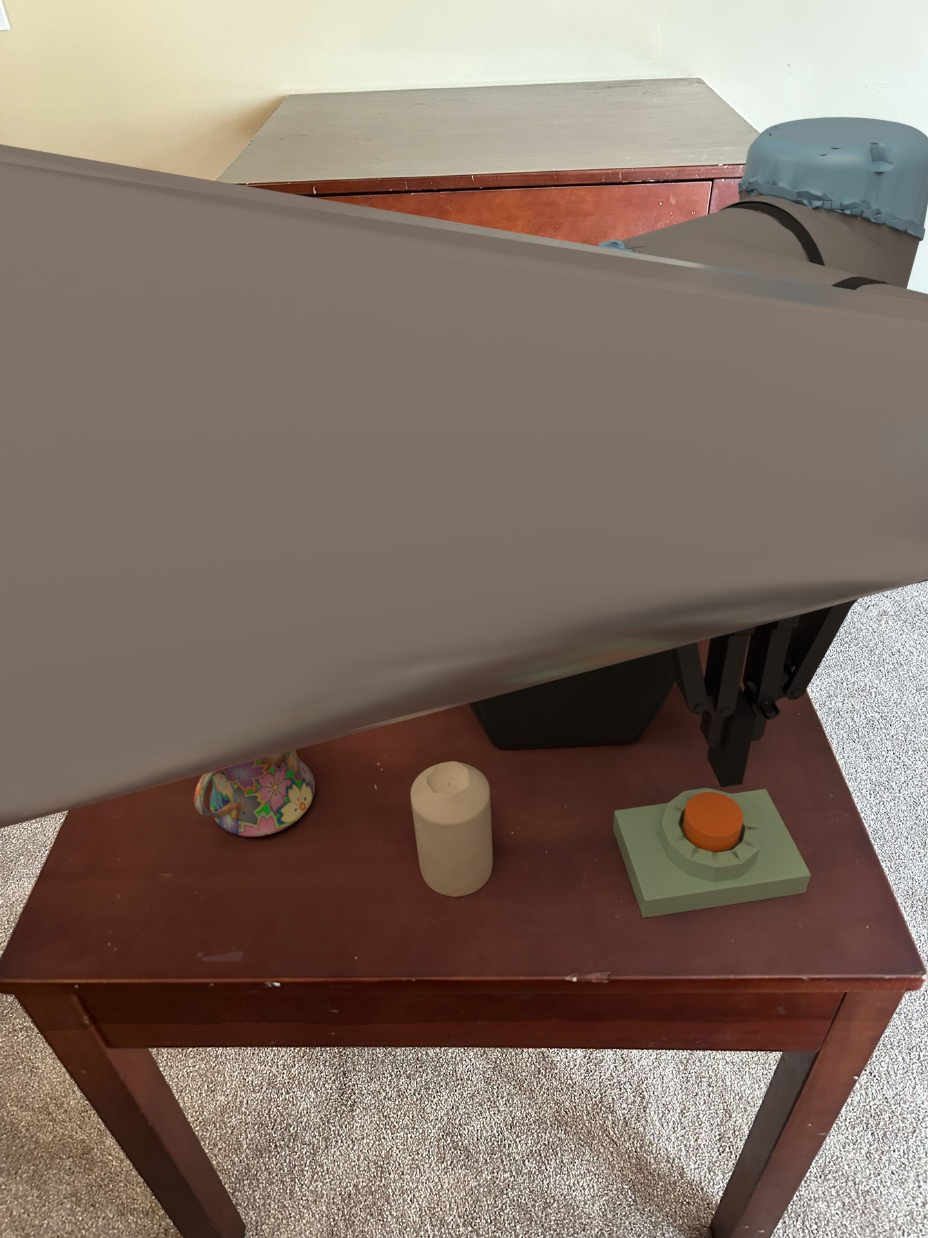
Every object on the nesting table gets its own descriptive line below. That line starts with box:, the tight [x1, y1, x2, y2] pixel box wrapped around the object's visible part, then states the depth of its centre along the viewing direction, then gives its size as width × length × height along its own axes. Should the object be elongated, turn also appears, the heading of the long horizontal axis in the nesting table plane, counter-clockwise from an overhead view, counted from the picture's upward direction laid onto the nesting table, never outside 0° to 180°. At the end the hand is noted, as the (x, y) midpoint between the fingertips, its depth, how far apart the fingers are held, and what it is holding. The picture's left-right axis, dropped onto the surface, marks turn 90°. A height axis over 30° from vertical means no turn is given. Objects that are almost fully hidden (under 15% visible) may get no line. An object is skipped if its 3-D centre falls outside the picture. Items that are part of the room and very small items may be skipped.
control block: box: [612, 787, 812, 919], centre depth 66 cm, size 12×8×4 cm, turn 98°
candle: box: [410, 760, 494, 898], centre depth 64 cm, size 6×6×10 cm
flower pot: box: [468, 649, 676, 751], centre depth 76 cm, size 19×19×17 cm
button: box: [683, 792, 743, 852], centre depth 64 cm, size 4×4×2 cm
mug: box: [193, 749, 316, 838], centre depth 69 cm, size 12×9×11 cm
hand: (724, 770), depth 61 cm, fingers closed
